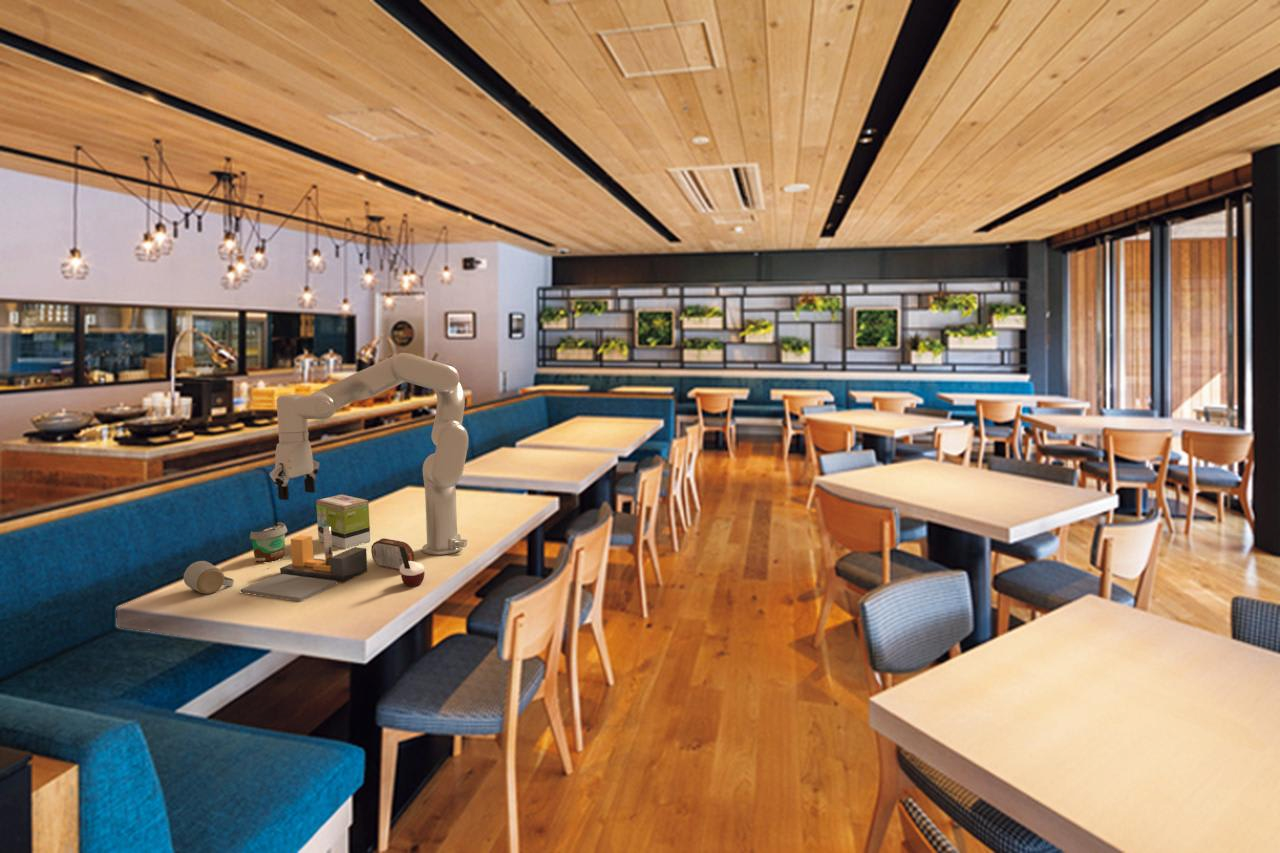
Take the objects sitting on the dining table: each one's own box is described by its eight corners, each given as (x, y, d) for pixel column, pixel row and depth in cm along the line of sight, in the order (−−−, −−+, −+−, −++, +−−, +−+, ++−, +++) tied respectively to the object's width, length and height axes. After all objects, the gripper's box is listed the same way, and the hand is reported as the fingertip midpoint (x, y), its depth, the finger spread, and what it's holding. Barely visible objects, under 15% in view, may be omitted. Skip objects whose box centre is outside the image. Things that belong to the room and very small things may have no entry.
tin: (415, 570, 201) (414, 542, 200) (408, 573, 198) (406, 545, 197) (378, 562, 208) (376, 536, 206) (370, 566, 205) (368, 538, 204)
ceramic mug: (198, 598, 179) (196, 570, 178) (183, 592, 183) (182, 564, 182) (240, 587, 187) (238, 560, 187) (225, 581, 192) (224, 554, 191)
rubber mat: (336, 584, 189) (336, 580, 189) (300, 601, 177) (300, 597, 177) (279, 576, 195) (278, 573, 195) (240, 592, 183) (240, 589, 183)
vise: (367, 571, 200) (365, 525, 198) (343, 583, 190) (340, 534, 188) (306, 563, 206) (304, 519, 204) (280, 574, 197) (277, 527, 195)
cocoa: (418, 579, 195) (417, 537, 194) (432, 582, 191) (431, 540, 190) (389, 587, 187) (388, 544, 186) (404, 591, 183) (403, 547, 182)
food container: (269, 566, 204) (267, 533, 203) (251, 564, 206) (249, 532, 204) (297, 553, 216) (295, 522, 215) (280, 552, 218) (278, 521, 216)
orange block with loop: (345, 564, 199) (343, 538, 198) (330, 571, 194) (328, 544, 193) (305, 560, 204) (303, 534, 203) (289, 566, 198) (287, 539, 197)
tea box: (317, 542, 228) (314, 499, 226) (344, 535, 237) (341, 493, 235) (345, 549, 220) (342, 505, 218) (371, 541, 229) (369, 499, 227)
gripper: (306, 433, 205) (309, 488, 207) (258, 441, 188) (262, 501, 191) (326, 434, 202) (329, 490, 205) (279, 442, 186) (283, 503, 188)
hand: (297, 495), depth 198 cm, fingers open, 9 cm apart
